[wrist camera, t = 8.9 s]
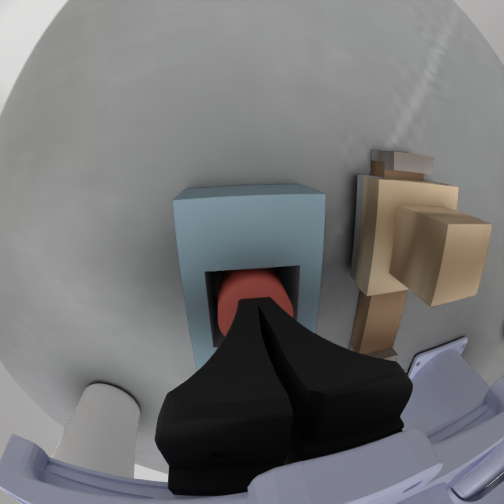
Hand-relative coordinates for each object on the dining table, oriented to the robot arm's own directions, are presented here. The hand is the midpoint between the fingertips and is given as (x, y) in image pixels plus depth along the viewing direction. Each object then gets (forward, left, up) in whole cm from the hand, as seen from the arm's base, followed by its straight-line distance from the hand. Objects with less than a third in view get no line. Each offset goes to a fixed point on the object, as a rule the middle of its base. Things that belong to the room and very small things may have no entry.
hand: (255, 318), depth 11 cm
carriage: (+3, -9, -5) cm, 10 cm away
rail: (0, -9, -5) cm, 10 cm away
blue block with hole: (0, 0, -5) cm, 5 cm away
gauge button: (0, 0, -3) cm, 3 cm away
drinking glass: (-12, +12, -5) cm, 17 cm away
